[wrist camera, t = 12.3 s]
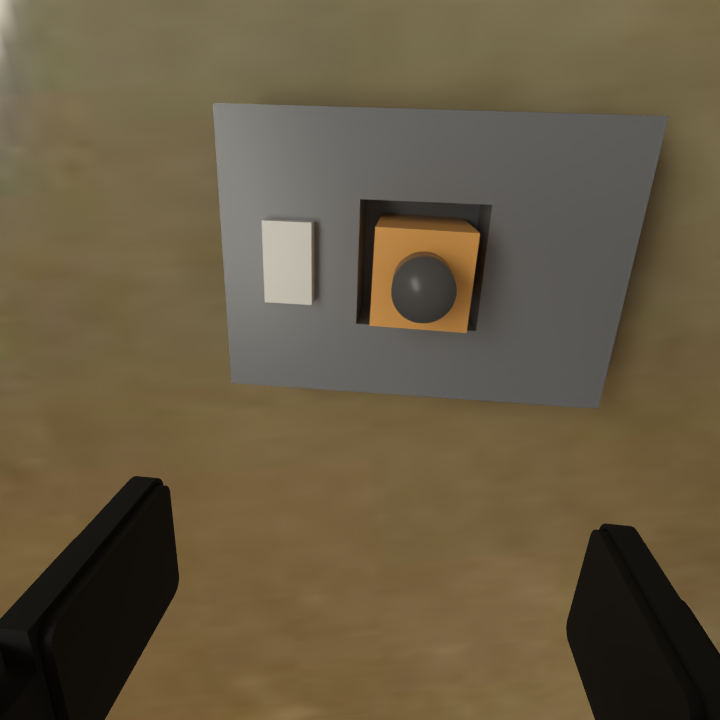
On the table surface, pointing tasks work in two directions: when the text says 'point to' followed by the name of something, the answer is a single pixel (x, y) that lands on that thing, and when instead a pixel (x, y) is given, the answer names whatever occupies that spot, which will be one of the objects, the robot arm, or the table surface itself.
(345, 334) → the socket
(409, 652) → the table surface
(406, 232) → the plug
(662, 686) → the robot arm
